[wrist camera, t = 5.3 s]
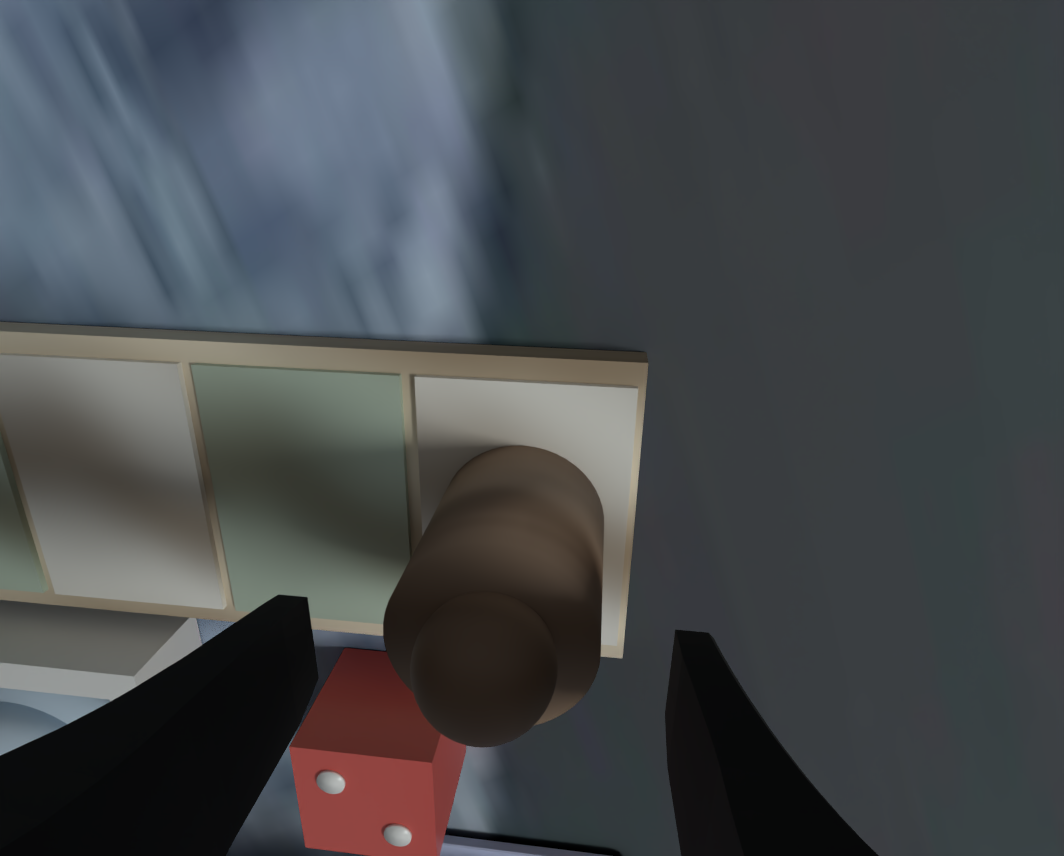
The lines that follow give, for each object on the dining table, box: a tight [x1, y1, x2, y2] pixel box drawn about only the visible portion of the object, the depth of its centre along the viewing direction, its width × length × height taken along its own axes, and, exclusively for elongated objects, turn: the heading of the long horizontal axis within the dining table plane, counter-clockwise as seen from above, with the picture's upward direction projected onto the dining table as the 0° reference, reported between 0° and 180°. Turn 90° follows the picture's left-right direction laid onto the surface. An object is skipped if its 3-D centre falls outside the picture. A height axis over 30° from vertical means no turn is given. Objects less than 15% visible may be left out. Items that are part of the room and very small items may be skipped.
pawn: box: [383, 446, 604, 747], centre depth 14 cm, size 4×4×7 cm
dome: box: [0, 688, 110, 755], centre depth 21 cm, size 7×7×5 cm
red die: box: [289, 648, 466, 856], centre depth 20 cm, size 4×4×4 cm
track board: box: [0, 322, 648, 658], centre depth 19 cm, size 9×24×1 cm, turn 89°
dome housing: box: [0, 600, 202, 701], centre depth 23 cm, size 10×10×3 cm
